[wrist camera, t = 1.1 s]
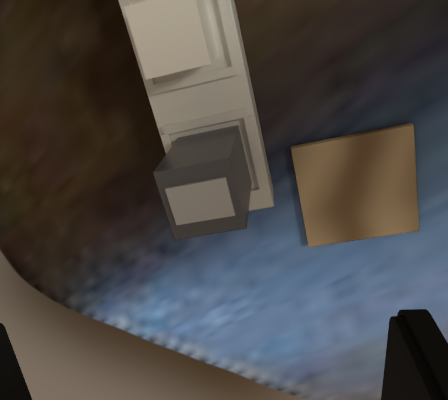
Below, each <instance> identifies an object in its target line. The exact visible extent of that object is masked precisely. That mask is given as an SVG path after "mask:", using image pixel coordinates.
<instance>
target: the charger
mask: <svg viewBox="0 0 448 400" xmlns="http://www.w3.org/2000/svg"><path fill="white" fill-rule="evenodd" d="M153 174H154V177H155V180H156V183H157V186H158V189H159V193H160V196H161V199H162V202H163V205H164V208H165V211H166V214H167V217H168V220H169V223H170V226H171V229H172V232H173V235H174V238H175V240H177V239H183V238H189V237H196V236H202V235H208V234H214V233H221V232H227V231H233V230H239V229H246V228H247V221H248V212H249V203H250V194H251V185H252V182H251V178H250V173H249V169H248V164H247V160H246V156H245V151H244V147H243V143H242V138H241V134H240V129H239V125H236V126H231V127H226V128H221V129H217V130H212V131H207V132H202V133H198V134H193V135H188V136H183V137H179V138H177V140H176V141H175V143H174V144H173V145H172V147H171V148H170V150H169V151H168V152H167V154H166V155H165V157H164V158H163V159H162V161H161V162H160V164H159V165H158V166H157V168H156V169H155V171H154V172H153Z"/></svg>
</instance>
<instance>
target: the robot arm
mask: <svg viewBox="0 0 448 400" xmlns="http://www.w3.org/2000/svg"><path fill="white" fill-rule="evenodd" d="M0 400H32V398H31V395H30V393H29V390H28V388H27V385H26V382H25V379H24V377H23V374H22V372H21V369H20V366H19V364H18V361H17V358H16V356H15V353H14V351H13V348H12V345H11V342H10V340H9V337H8V335H7V332H6V329H5V327H4V325H3V324H1V323H0ZM381 400H448V343H447V342H446V340H445V338H444V336H443V335H442V333H441V331H440V330H439V328H438V326H437V324H436V323H435V321H434V319H433V318H432V316H431V314H430V313H429V312H428V310H426V309H417V310H399V312H398V315H397V316H394V317H391V318H390V321H389V331H388V340H387V350H386V359H385V369H384V378H383V388H382V397H381Z"/></svg>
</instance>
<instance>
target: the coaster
mask: <svg viewBox="0 0 448 400" xmlns="http://www.w3.org/2000/svg"><path fill="white" fill-rule="evenodd" d="M291 152H292V158H293V163H294V169H295V174H296V180H297V185H298V191H299V197H300V202H301V208H302V213H303V219H304V224H305V230H306V235H307V241H308V246H309V247H313V246H320V245H326V244H333V243H340V242H347V241H354V240H360V239H367V238H374V237H381V236H388V235H395V234H401V233H408V232H415V231H419V213H418V194H417V176H416V157H415V138H414V125H413V124H412V123H408V124H403V125H398V126H392V127H387V128H382V129H377V130H372V131H367V132H362V133H356V134H351V135H346V136H341V137H336V138H331V139H326V140H321V141H315V142H310V143H305V144H300V145H295V146H291Z"/></svg>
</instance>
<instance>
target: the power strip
mask: <svg viewBox="0 0 448 400" xmlns="http://www.w3.org/2000/svg"><path fill="white" fill-rule="evenodd" d="M118 1H119V4H120V7H121V10H122V14H123V17H124V20H125V23H126V27H127V30H128V33H129V36H130V40H131V43H132V46H133V49H134V52H135V56H136V59H137V62H138V65H139V69H140V72H141V75H142V78H143V82H144V85H145V88H146V91H147V94H148V98H149V101H150V104H151V107H152V111H153V114H154V117H155V120H156V124H157V127H158V130H159V133H160V136H161V140H162V143H163V146H164V149H165V153H166V154H167V152H168V151H169V150H170V148H171V147H172V145H173V144H174V143H175V141H176V140H177V138H179V137H183V136H188V135H193V134H198V133H202V132H207V131H212V130H217V129H221V128H226V127H231V126H236V125H239V129H240V134H241V138H242V143H243V147H244V151H245V156H246V160H247V164H248V169H249V173H250V178H251V182H252V185H251V194H250V203H249V211H251V210H257V209H263V208H269V207H274V190H273V185H272V180H271V176H270V171H269V166H268V161H267V156H266V151H265V147H264V142H263V137H262V132H261V127H260V122H259V118H258V113H257V108H256V103H255V98H254V93H253V89H252V84H251V79H250V74H249V69H248V64H247V60H246V55H245V50H244V45H243V40H242V35H241V31H240V26H239V21H238V16H237V11H236V6H235V2H234V0H118Z"/></svg>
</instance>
